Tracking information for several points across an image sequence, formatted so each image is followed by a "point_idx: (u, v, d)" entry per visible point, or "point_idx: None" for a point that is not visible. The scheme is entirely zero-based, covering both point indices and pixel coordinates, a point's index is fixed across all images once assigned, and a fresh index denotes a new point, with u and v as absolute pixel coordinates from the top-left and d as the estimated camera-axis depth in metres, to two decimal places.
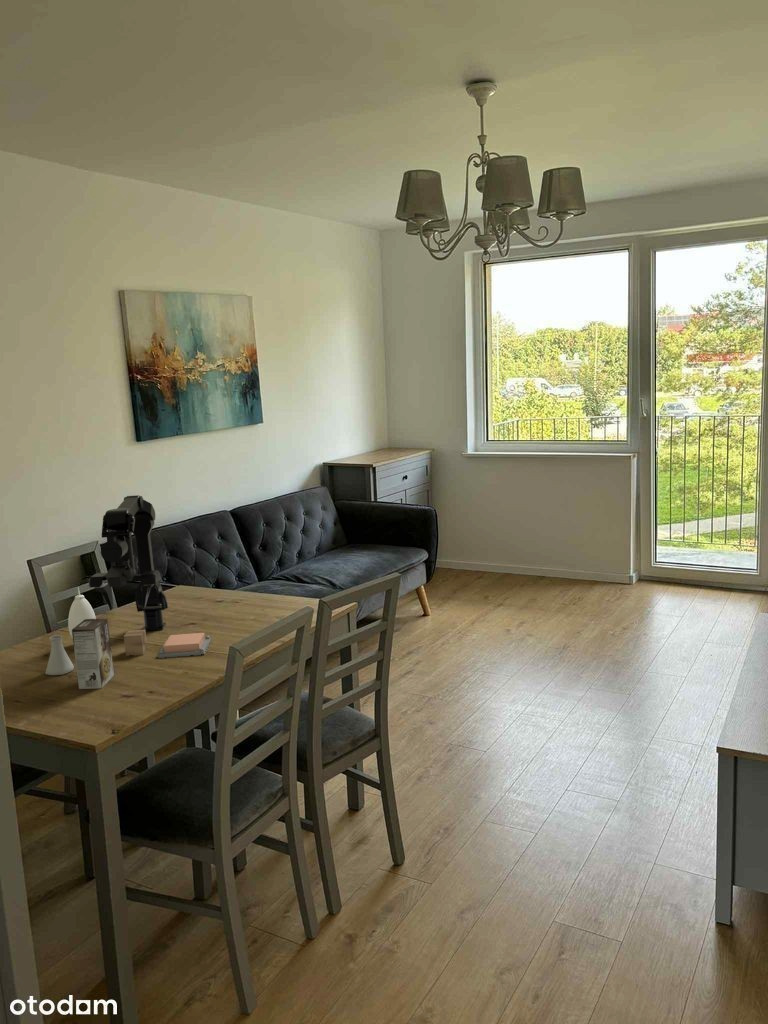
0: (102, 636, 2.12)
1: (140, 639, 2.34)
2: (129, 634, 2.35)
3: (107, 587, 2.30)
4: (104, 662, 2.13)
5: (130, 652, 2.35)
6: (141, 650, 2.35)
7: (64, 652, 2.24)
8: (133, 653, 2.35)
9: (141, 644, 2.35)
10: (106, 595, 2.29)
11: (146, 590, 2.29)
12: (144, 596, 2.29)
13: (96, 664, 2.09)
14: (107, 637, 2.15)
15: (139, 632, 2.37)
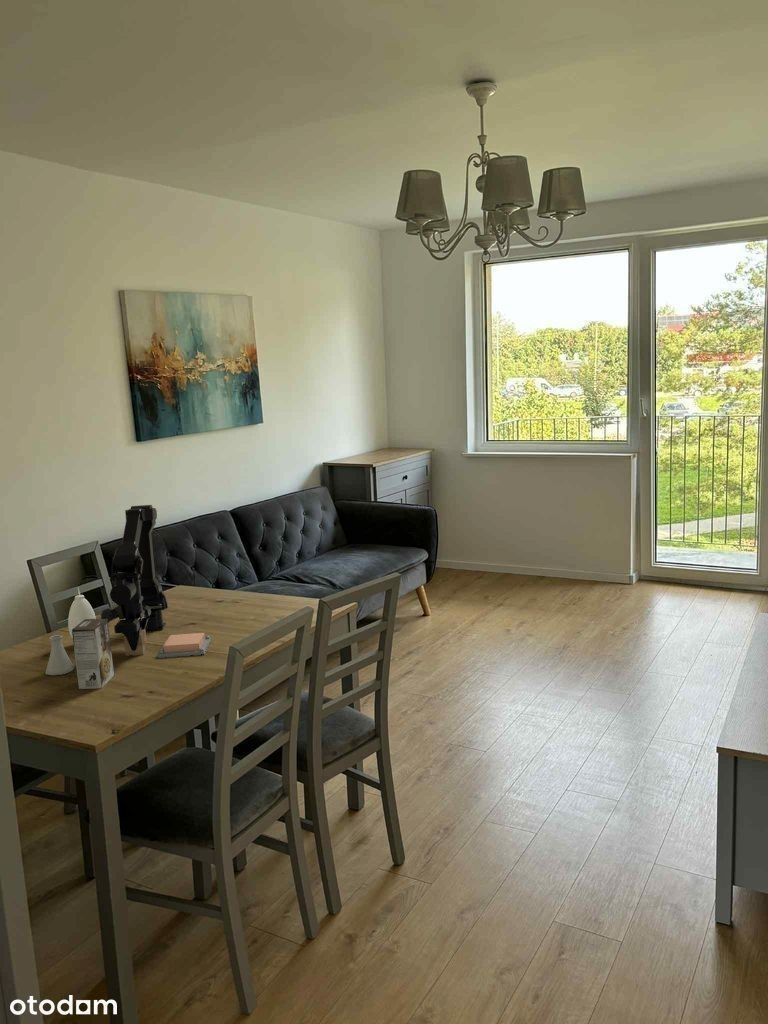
0: (102, 635, 2.12)
1: (140, 639, 2.34)
2: None
3: None
4: (105, 662, 2.13)
5: (130, 652, 2.35)
6: (141, 650, 2.35)
7: (64, 652, 2.24)
8: (133, 653, 2.35)
9: (141, 644, 2.35)
10: None
11: None
12: None
13: (96, 664, 2.09)
14: (107, 637, 2.15)
15: None
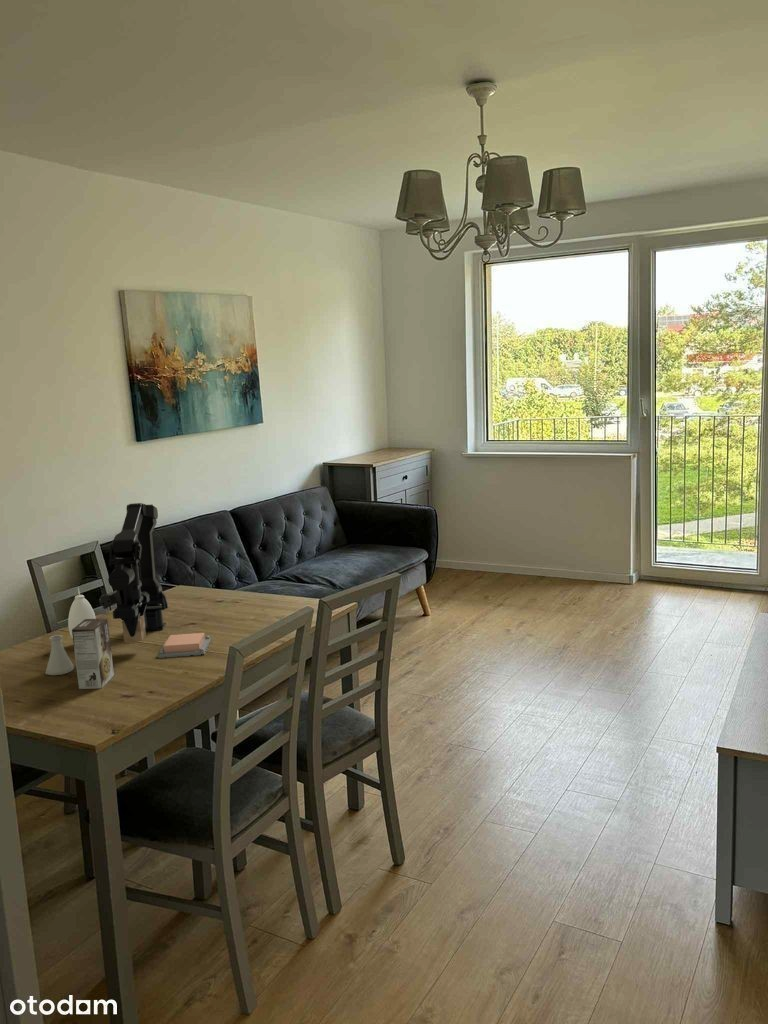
0: (102, 636, 2.12)
1: (138, 625, 2.34)
2: None
3: None
4: (105, 662, 2.13)
5: (129, 638, 2.34)
6: (139, 636, 2.34)
7: (64, 652, 2.24)
8: (131, 639, 2.34)
9: (139, 630, 2.34)
10: None
11: None
12: None
13: (96, 664, 2.09)
14: (107, 637, 2.15)
15: None
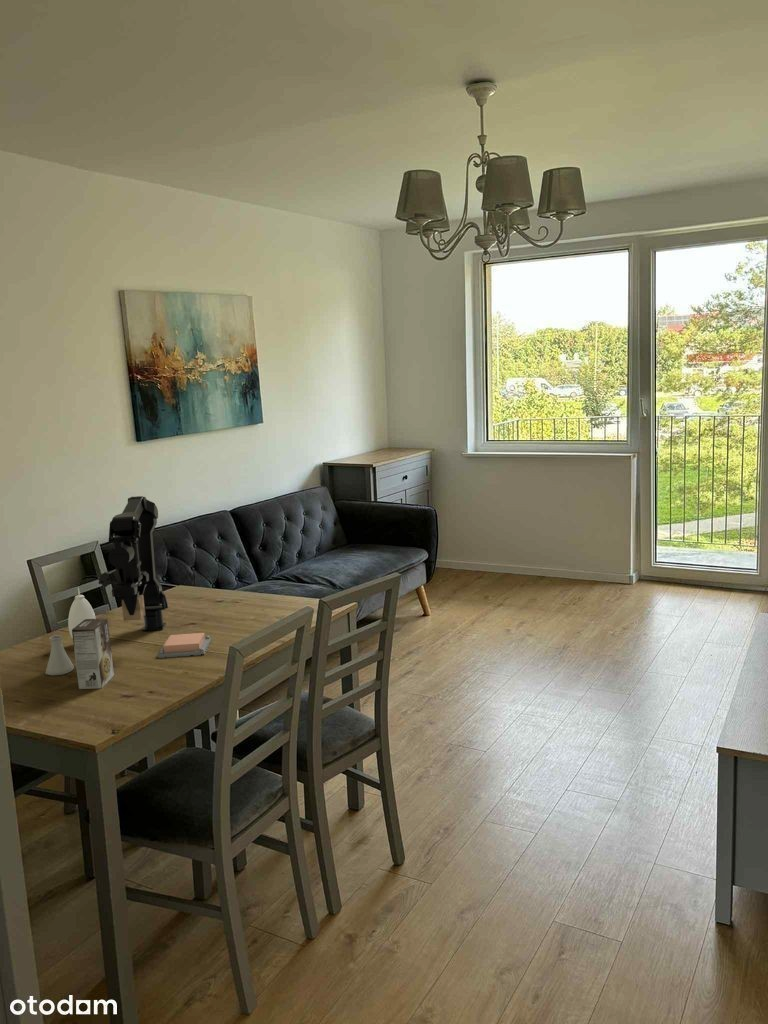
0: (102, 635, 2.12)
1: (138, 603, 2.33)
2: None
3: None
4: (105, 662, 2.13)
5: (128, 617, 2.33)
6: (139, 615, 2.33)
7: (64, 652, 2.24)
8: (131, 618, 2.33)
9: (139, 609, 2.33)
10: None
11: None
12: None
13: (96, 664, 2.09)
14: (107, 637, 2.15)
15: None
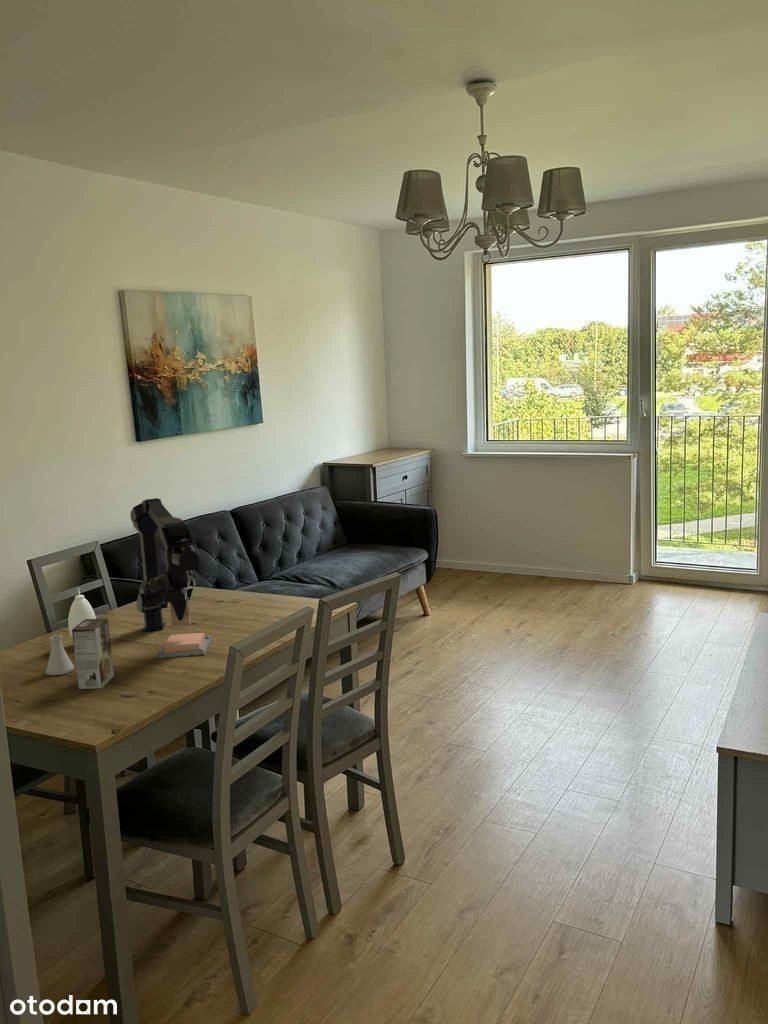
0: (102, 636, 2.12)
1: (187, 609, 2.34)
2: None
3: None
4: (105, 662, 2.13)
5: (177, 622, 2.34)
6: (187, 620, 2.34)
7: (64, 652, 2.24)
8: (179, 623, 2.34)
9: (187, 614, 2.34)
10: None
11: None
12: None
13: (96, 664, 2.09)
14: (107, 637, 2.15)
15: None
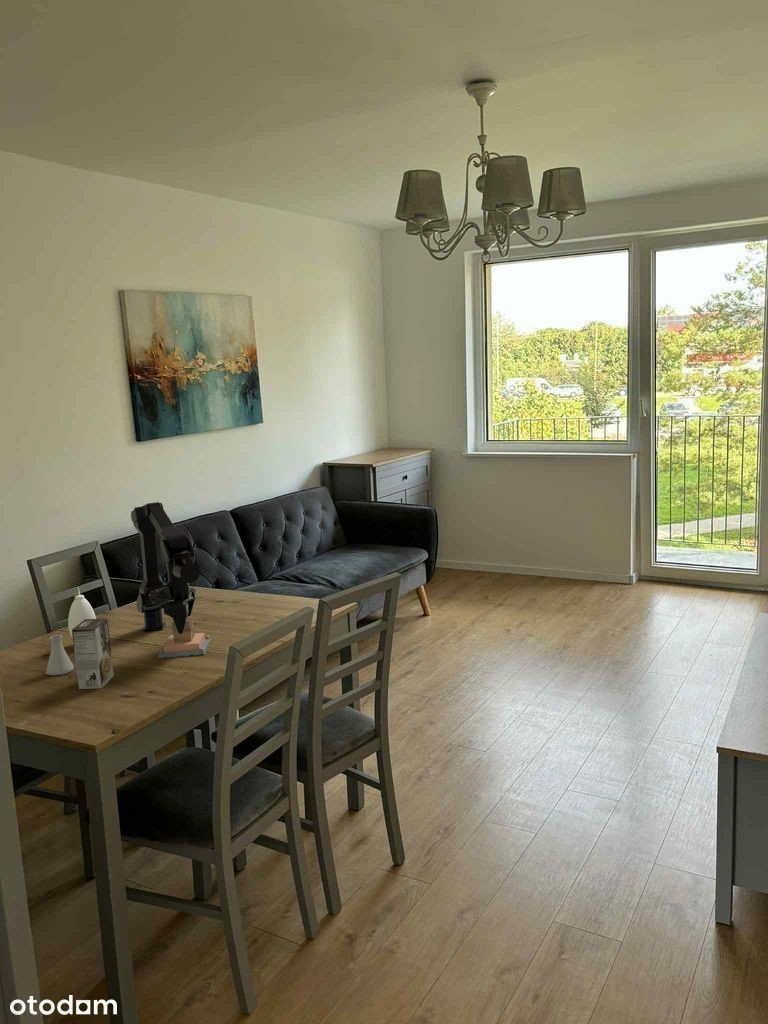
0: (102, 636, 2.12)
1: (188, 625, 2.35)
2: None
3: None
4: (105, 662, 2.13)
5: (179, 638, 2.35)
6: (189, 636, 2.35)
7: (64, 652, 2.24)
8: (181, 639, 2.35)
9: (189, 630, 2.35)
10: None
11: None
12: None
13: (96, 664, 2.09)
14: (107, 637, 2.15)
15: (187, 618, 2.37)
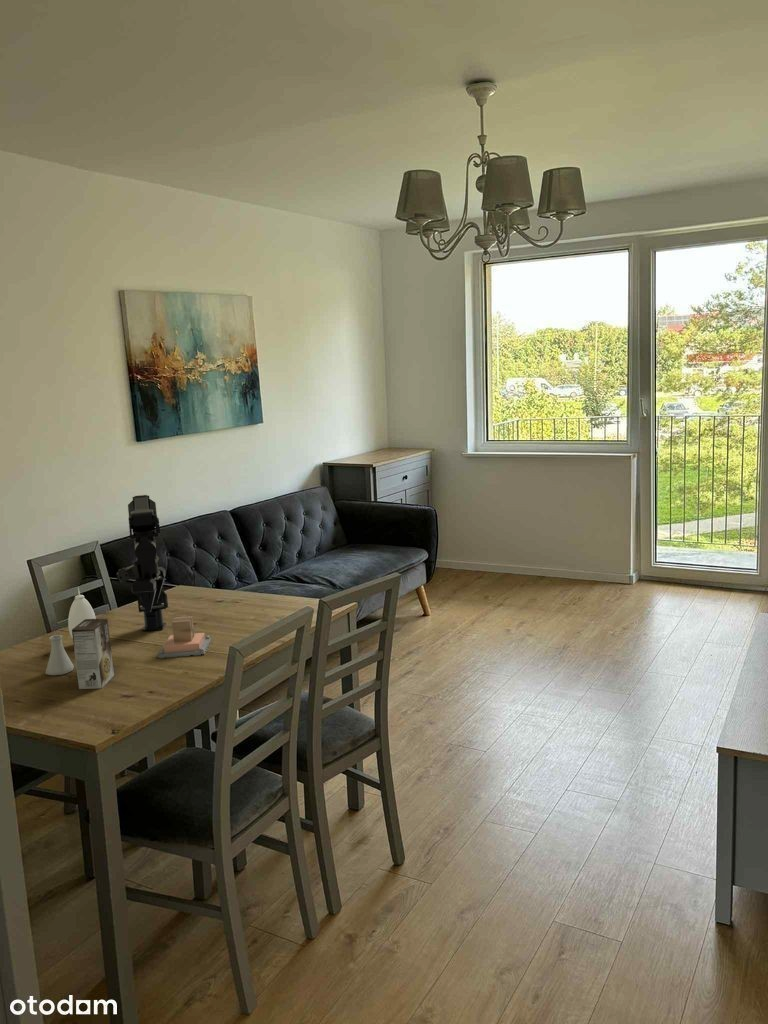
0: (102, 635, 2.12)
1: (188, 625, 2.35)
2: (177, 620, 2.35)
3: None
4: (105, 662, 2.13)
5: (179, 638, 2.35)
6: (189, 636, 2.35)
7: (64, 652, 2.24)
8: (181, 639, 2.35)
9: (189, 630, 2.35)
10: None
11: None
12: None
13: (96, 664, 2.09)
14: (107, 637, 2.15)
15: (187, 618, 2.37)
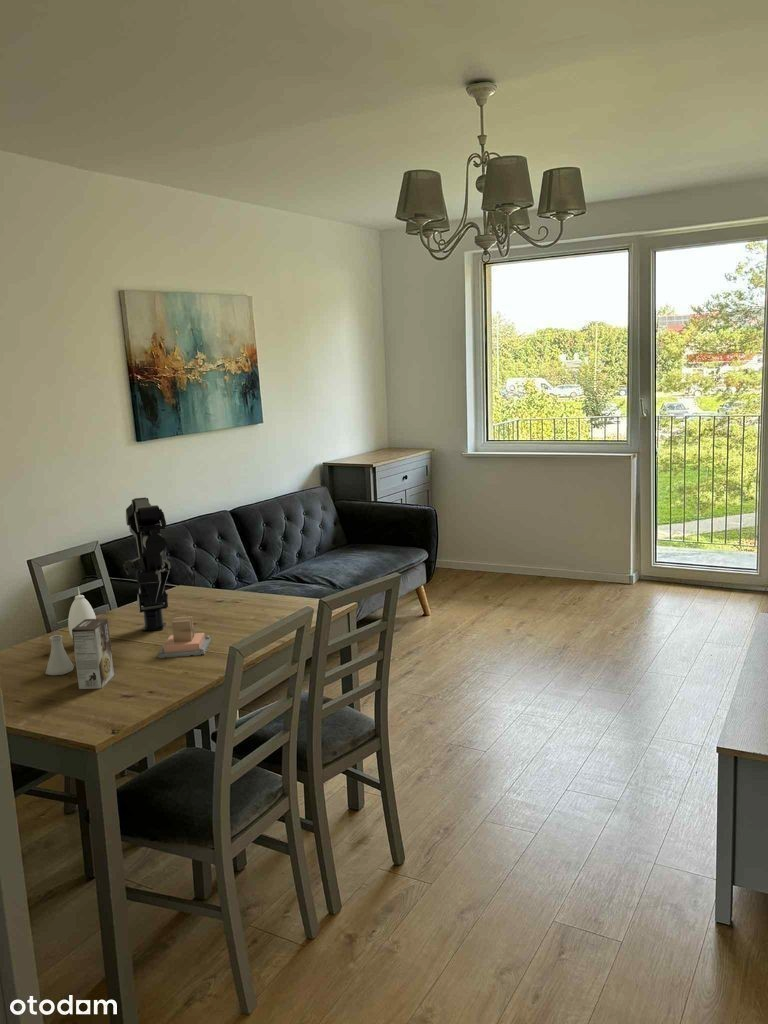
0: (102, 635, 2.12)
1: (188, 625, 2.35)
2: (177, 620, 2.35)
3: None
4: (105, 662, 2.13)
5: (179, 638, 2.35)
6: (189, 636, 2.35)
7: (64, 652, 2.24)
8: (181, 639, 2.35)
9: (189, 630, 2.35)
10: None
11: None
12: None
13: (96, 664, 2.09)
14: (107, 637, 2.15)
15: (187, 618, 2.37)
